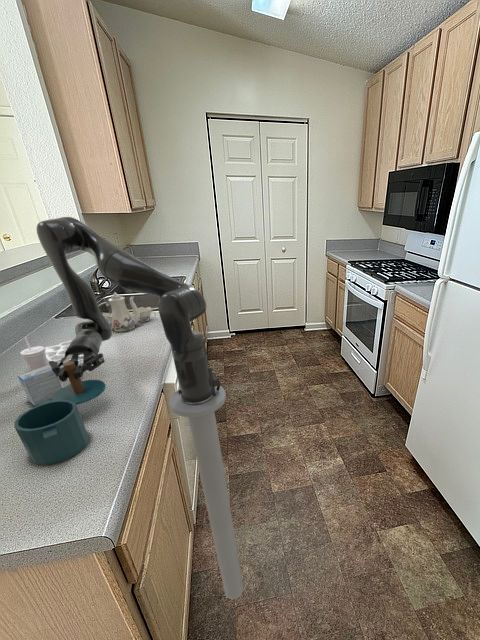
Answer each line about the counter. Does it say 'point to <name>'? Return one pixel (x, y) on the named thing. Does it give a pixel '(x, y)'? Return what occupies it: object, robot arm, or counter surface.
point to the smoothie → (34, 356)
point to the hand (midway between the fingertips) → (69, 377)
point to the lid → (78, 387)
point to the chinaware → (125, 314)
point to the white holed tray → (56, 352)
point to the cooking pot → (52, 431)
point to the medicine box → (40, 384)
